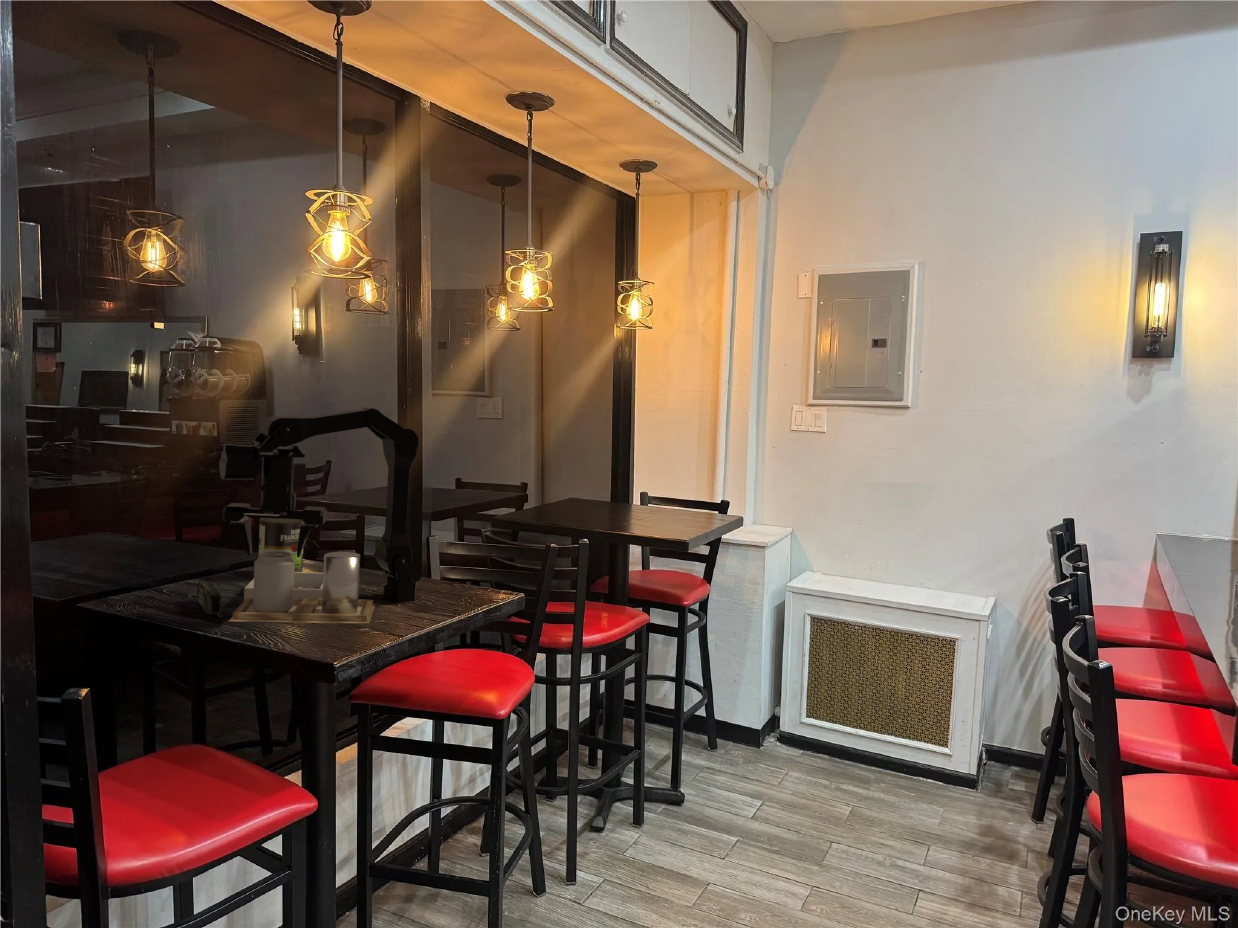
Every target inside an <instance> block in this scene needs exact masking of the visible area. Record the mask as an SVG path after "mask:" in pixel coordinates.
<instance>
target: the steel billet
mask: <svg viewBox="0 0 1238 928" xmlns="http://www.w3.org/2000/svg"><path fill="white" fill-rule="evenodd" d="M360 565H361V554H360V553H357V552H351V551H333V552H328V553H325V554H323V568H322V569H323V572H322V573H323V591H322V614H357V612H358V600H359V589H360V588H359V587H360V570H361V569H360V568H361V566H360Z"/></svg>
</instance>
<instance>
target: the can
mask: <svg viewBox="0 0 1238 928" xmlns="http://www.w3.org/2000/svg"><path fill="white" fill-rule="evenodd" d="M291 555H292V554H291V553H289V552H285V551H266V552H261V553H259V552H258V555H257V556H258V557H257V559H256V560H254V562H253V563H254V566H253V567H254V568H253V579H254V589H253V609H254V610H255V611H257V612H260V613H287V612H288V611H289V610H290V609H292V607H293V594H294V588H295V587H294V571H295V561H294V560H293V559H292V558H291Z"/></svg>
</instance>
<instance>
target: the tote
mask: <svg viewBox="0 0 1238 928" xmlns="http://www.w3.org/2000/svg"><path fill="white" fill-rule="evenodd" d="M253 589H254V578H253V579H252V580H251V581H250V582H249V583H248V584H247V585H246V586H245V587H244V590H243V602H244V601H245V600H246V599H247V598H248V597H253ZM322 591H323V572H315V571H313V572H309V571H308V572H307V571H302V572H294V594H293V598H311V599H322Z"/></svg>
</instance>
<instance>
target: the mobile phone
mask: <svg viewBox="0 0 1238 928" xmlns="http://www.w3.org/2000/svg"><path fill="white" fill-rule="evenodd" d="M196 588H197V589H196V590H197V592H196V594H197V596H196V600H197V603H198V604H199V605H200V607H202V609H203V611H204V613H205V614H207V615H211V616H212V615H213V616H218V618H219V619H223V617H224V615H223V614H222V607H223V606H222V604H223V603H222V602H223V600H222V594H221V591H220V590H219V588H217V587H216V585H215V584H214V583H213V582H211V581H208V580H204V581H203V580H202V581H198V583H197V587H196Z"/></svg>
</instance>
